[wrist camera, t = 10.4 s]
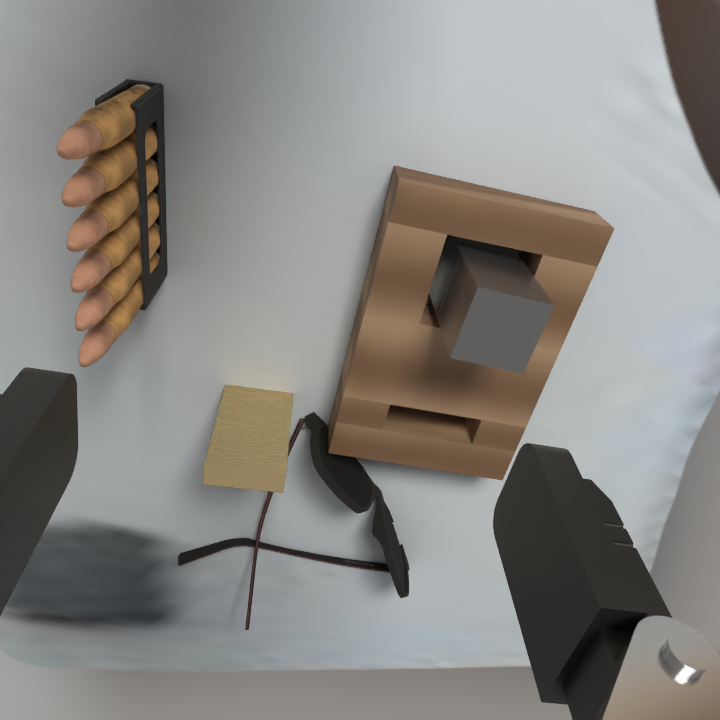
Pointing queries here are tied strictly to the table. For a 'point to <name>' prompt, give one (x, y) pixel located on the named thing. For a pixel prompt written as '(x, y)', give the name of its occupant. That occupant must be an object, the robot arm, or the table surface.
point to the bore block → (424, 336)
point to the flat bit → (250, 440)
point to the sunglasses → (350, 489)
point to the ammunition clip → (117, 210)
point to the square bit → (488, 304)
